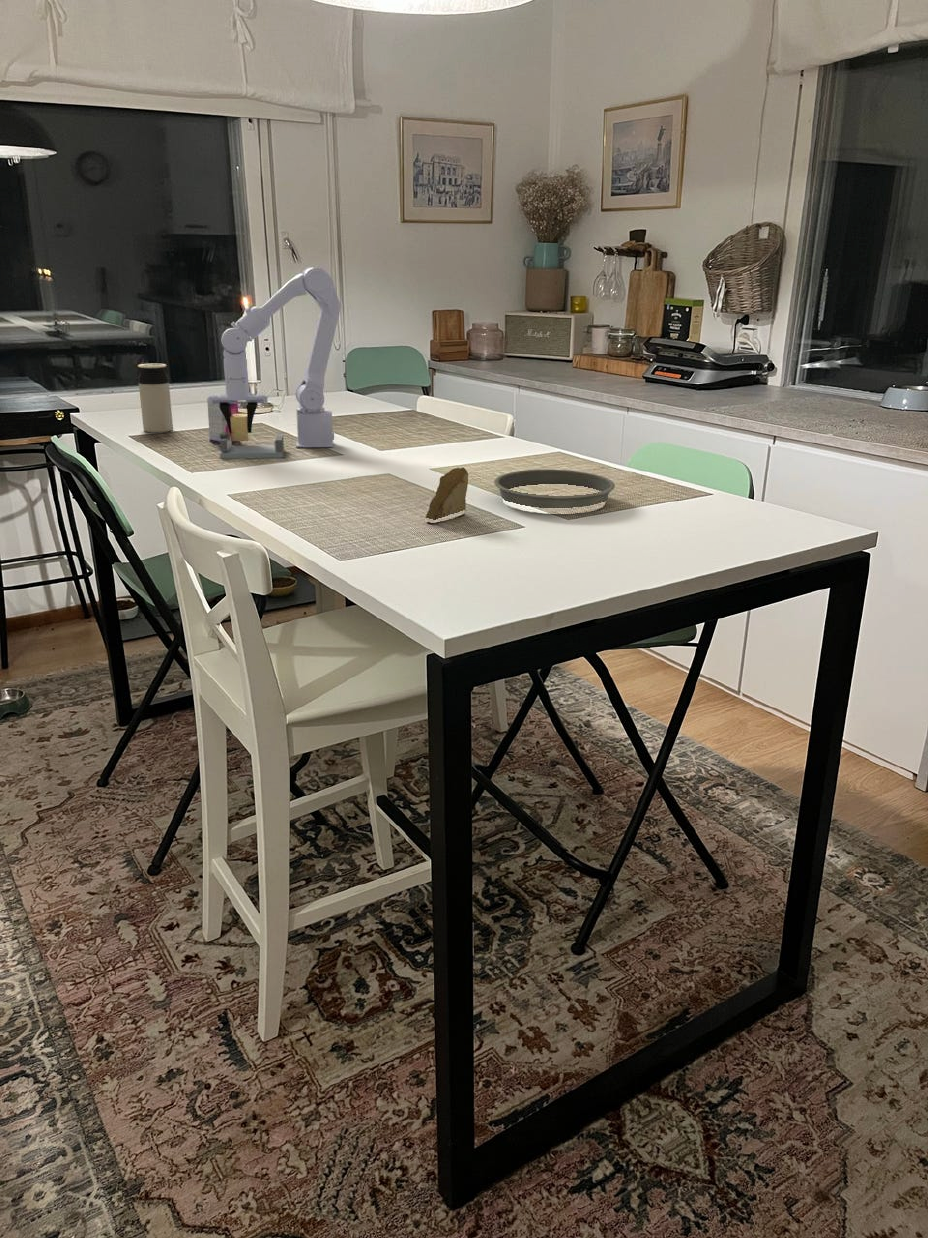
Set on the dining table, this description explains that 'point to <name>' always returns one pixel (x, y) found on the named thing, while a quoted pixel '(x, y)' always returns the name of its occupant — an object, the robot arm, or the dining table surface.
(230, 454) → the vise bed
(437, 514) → the rock
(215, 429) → the supplement box
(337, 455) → the dining table surface
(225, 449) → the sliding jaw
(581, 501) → the cake pan
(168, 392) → the travel mug
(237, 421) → the brass block
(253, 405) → the robot arm
